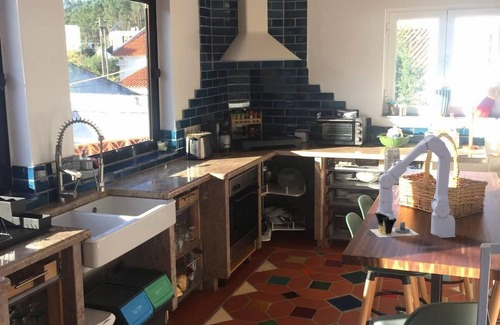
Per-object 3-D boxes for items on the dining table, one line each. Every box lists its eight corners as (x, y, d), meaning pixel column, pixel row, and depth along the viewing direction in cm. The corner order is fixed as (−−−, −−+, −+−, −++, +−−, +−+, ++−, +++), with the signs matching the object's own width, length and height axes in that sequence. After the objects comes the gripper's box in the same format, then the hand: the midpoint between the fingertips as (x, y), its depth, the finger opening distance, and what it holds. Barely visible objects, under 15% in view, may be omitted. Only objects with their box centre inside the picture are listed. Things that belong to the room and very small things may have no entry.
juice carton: (398, 182, 355) (399, 144, 351) (399, 184, 347) (400, 146, 343) (383, 182, 357) (384, 144, 352) (384, 184, 349) (384, 146, 345)
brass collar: (388, 230, 250) (388, 222, 249) (393, 234, 245) (393, 226, 244) (377, 231, 249) (377, 223, 249) (381, 234, 244) (381, 227, 243)
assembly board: (407, 229, 255) (407, 216, 254) (418, 236, 243) (419, 223, 242) (369, 231, 252) (369, 218, 251) (379, 239, 241) (379, 226, 240)
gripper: (371, 197, 251) (370, 226, 253) (383, 205, 237) (382, 236, 239) (386, 196, 252) (385, 226, 254) (399, 204, 238) (398, 235, 240)
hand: (385, 231), depth 247 cm, fingers open, 7 cm apart
